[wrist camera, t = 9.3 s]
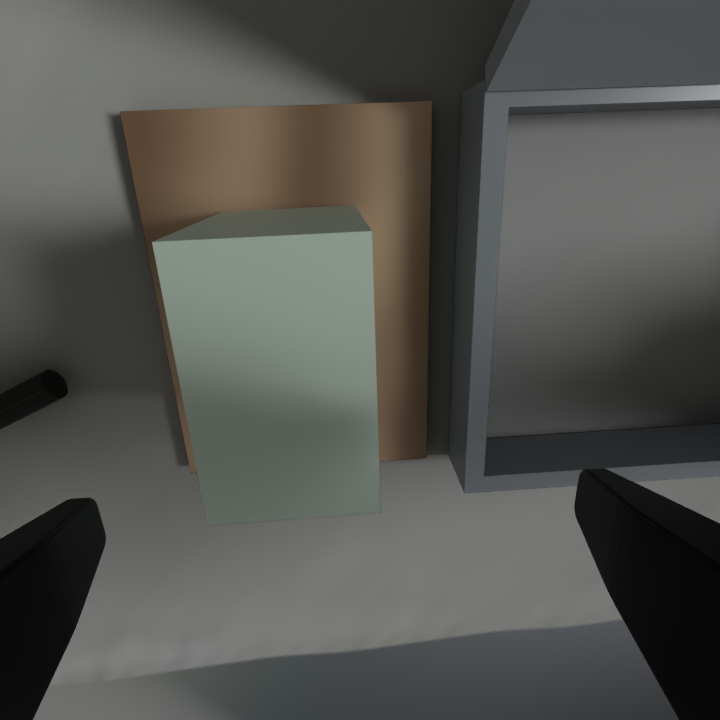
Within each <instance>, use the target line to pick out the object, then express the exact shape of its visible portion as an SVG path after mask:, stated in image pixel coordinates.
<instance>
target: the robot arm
mask: <svg viewBox="0 0 720 720" xmlns="http://www.w3.org/2000/svg"><path fill="white" fill-rule="evenodd" d="M574 508H575V515H576V518H577V521H578V523H579V525H580V528H581V530H582V533H583V535H584V537H585V540H586V542H587V544H588V547H589V549H590V551H591V554H592V556H593V558H594V561H595V563H596V565H597V568H598V570H599V572H600V575H601V577H602V579H603V582H604V584H605V586H606V588H607V590H608V592H609V594H610V596H611V598H612V600H613V602H614V604H615V606H616V608H617V609H618V611H619V613H620V615H621V617H622V618H623V620H624V622H625V624H626V625H627V627H628V629H629V631H630V633H631V634H632V636H633V638H634V640H635V642H636V643H637V645H638V647H639V649H640V651H641V652H642V654H643V656H644V658H645V660H646V662H647V663H648V665H649V667H650V669H651V670H652V672H653V674H654V676H655V678H656V680H657V681H658V683H659V685H660V687H661V689H662V690H663V692H664V694H665V696H666V697H667V699H668V701H669V703H670V705H671V706H672V708H673V710H674V712H675V714H676V715H677V717H678V719H679V720H720V523H717V522H715V521H713V520H711V519H709V518H707V517H705V516H703V515H701V514H699V513H697V512H695V511H693V510H690V509H688V508H686V507H684V506H682V505H680V504H678V503H676V502H674V501H672V500H670V499H668V498H666V497H663V496H661V495H659V494H657V493H655V492H653V491H651V490H649V489H647V488H645V487H643V486H641V485H639V484H636V483H634V482H632V481H630V480H628V479H626V478H624V477H622V476H620V475H618V474H616V473H614V472H612V471H609V470H607V469H605V468H594V469H584V470H582V471H581V472H580V474H579V479H578V485H577V492H576V498H575V506H574ZM105 542H106V535H105V530H104V527H103V523H102V520H101V516H100V513H99V509H98V506H97V503H96V502H95V500H94V499H92V498H76V499H69V500H66V501H65V502H63V503H61V504H59V505H58V506H56V507H54V508H53V509H51V510H49V511H47V512H46V513H44V514H42V515H40V516H39V517H37V518H35V519H34V520H32V521H30V522H28V523H27V524H25V525H23V526H22V527H20V528H18V529H16V530H15V531H13V532H11V533H10V534H8V535H6V536H4V537H3V538H1V539H0V720H33V718H34V716H35V714H36V712H37V710H38V708H39V705H40V703H41V701H42V699H43V697H44V695H45V693H46V690H47V688H48V686H49V684H50V682H51V680H52V678H53V676H54V674H55V671H56V669H57V667H58V665H59V663H60V661H61V659H62V657H63V654H64V652H65V650H66V648H67V646H68V644H69V642H70V639H71V637H72V635H73V633H74V630H75V628H76V626H77V623H78V620H79V618H80V615H81V612H82V610H83V607H84V604H85V601H86V598H87V595H88V593H89V590H90V587H91V584H92V581H93V578H94V576H95V573H96V570H97V567H98V564H99V561H100V559H101V556H102V553H103V550H104V547H105Z"/></svg>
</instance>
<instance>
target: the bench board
mask: <svg viewBox="0 0 720 720" xmlns="http://www.w3.org/2000/svg"><path fill="white" fill-rule="evenodd" d="M120 115H121V120H122V125H123V130H124V135H125V140H126V145H127V150H128V156H129V161H130V166H131V171H132V176H133V181H134V186H135V191H136V196H137V202H138V207H139V212H140V217H141V222H142V227H143V232H144V237H145V242H146V248H147V253H148V258H149V263H150V268H151V273H152V278H153V283H154V288H155V294H156V299H157V304H158V309H159V314H160V319H161V324H162V329H163V334H164V340H165V345H166V350H167V355H168V360H169V365H170V370H171V375H172V381H173V386H174V391H175V396H176V401H177V406H178V411H179V416H180V421H181V427H182V432H183V437H184V442H185V447H186V452H187V457H188V462H189V467H190V473H197V470H196V465H195V460H194V455H193V450H192V444H191V439H190V434H189V429H188V424H187V419H186V414H185V409H184V403H183V398H182V393H181V388H180V383H179V378H178V373H177V368H176V363H175V357H174V352H173V347H172V342H171V337H170V332H169V327H168V322H167V316H166V311H165V306H164V301H163V296H162V291H161V286H160V281H159V276H158V270H157V265H156V260H155V255H154V250H153V245H152V242H153V241H156V240H158V239H160V238H163V237H165V236H167V235H170V234H172V233H174V232H177V231H179V230H181V229H184V228H186V227H188V226H191V225H193V224H195V223H198V222H200V221H202V220H204V219H207V218H209V217H211V216H214V215H216V214H218V213H221V212H224V211H245V210H266V209H287V208H308V207H329V206H350V205H355V206H356V208H357V209H358V211H359V212H360V214H361V215H362V217H363V218H364V220H365V221H366V223H367V224H368V226H369V227H370V229H371V230H372V249H373V281H374V313H375V345H376V377H377V409H378V441H379V461H390V460H406V459H421V458H426V455H427V393H428V330H429V268H430V205H431V143H432V101H414V102H385V103H356V104H327V105H298V106H269V107H239V108H210V109H181V110H152V111H123V112H120Z"/></svg>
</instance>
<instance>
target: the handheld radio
mask: <svg viewBox="0 0 720 720" xmlns="http://www.w3.org/2000/svg"><path fill="white" fill-rule="evenodd" d="M67 392H68V388H67V384H66V382H65V380H64V379H63V377H62V376H61V375H60V374H58V373H57V372H55V371H53V370H46V371H44V372H42V373H40V374H38V375H37V376H35V377H33V378H31V379H29V380H27V381H25V382H23V383H21V384H19V385H17V386H15V387H13V388H11V389H9V390H7V391H6V392H4V393H2V394H0V429H2V428H4V427H6V426H8V425H10V424H12V423H14V422H16V421H18V420H20V419H21V418H23V417H25V416H27V415H29V414H31V413H33V412H35V411H37V410H39V409H41V408H43V407H45V406H47V405H49V404H51V403H53V402H55V401H57V400H59V399H61V398H63V397H65V396H66V394H67Z"/></svg>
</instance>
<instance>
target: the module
mask: <svg viewBox="0 0 720 720" xmlns="http://www.w3.org/2000/svg"><path fill="white" fill-rule="evenodd" d="M152 245H153V250H154V255H155V260H156V265H157V270H158V276H159V281H160V286H161V291H162V296H163V301H164V306H165V311H166V316H167V322H168V327H169V332H170V337H171V342H172V347H173V352H174V357H175V363H176V368H177V373H178V378H179V383H180V388H181V393H182V398H183V403H184V409H185V414H186V419H187V424H188V429H189V434H190V439H191V444H192V450H193V455H194V460H195V465H196V470H197V475H198V480H199V485H200V490H201V496H202V501H203V506H204V511H205V516H206V521H207V526H208V525H221V524H235V523H249V522H263V521H277V520H290V519H304V518H318V517H332V516H345V515H359V514H373V513H381V504H380V472H379V441H378V409H377V377H376V345H375V313H374V281H373V249H372V230H371V229H370V227H369V226H368V224H367V223H366V221H365V220H364V218H363V217H362V215H361V214H360V212H359V211H358V209H357V208H356V206H355V205H350V206H329V207H308V208H287V209H266V210H245V211H224V212H221V213H218V214H216V215H214V216H211V217H209V218H207V219H204V220H202V221H200V222H198V223H195V224H193V225H191V226H188V227H186V228H184V229H181V230H179V231H177V232H174V233H172V234H170V235H167V236H165V237H163V238H160V239H158V240H156V241H153V242H152Z"/></svg>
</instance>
